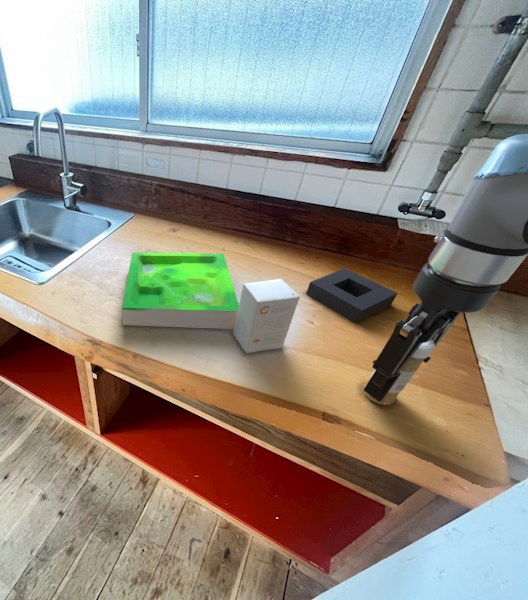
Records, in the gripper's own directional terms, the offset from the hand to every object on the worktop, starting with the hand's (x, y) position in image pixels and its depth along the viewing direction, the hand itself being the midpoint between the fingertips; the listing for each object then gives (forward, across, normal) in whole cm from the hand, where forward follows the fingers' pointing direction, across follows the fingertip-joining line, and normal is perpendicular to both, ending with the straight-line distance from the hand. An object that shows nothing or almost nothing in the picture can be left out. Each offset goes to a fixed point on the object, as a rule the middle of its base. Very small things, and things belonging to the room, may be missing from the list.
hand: (382, 388), depth 54 cm
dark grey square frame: (+2, -21, -20) cm, 29 cm away
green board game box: (+2, +13, -42) cm, 44 cm away
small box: (+2, +8, -20) cm, 22 cm away
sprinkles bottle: (+2, 0, 0) cm, 2 cm away
